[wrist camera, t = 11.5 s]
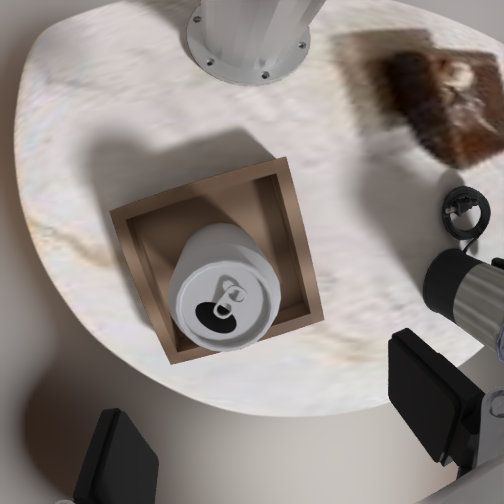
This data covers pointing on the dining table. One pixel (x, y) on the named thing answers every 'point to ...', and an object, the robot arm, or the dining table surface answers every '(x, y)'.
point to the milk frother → (468, 278)
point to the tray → (225, 211)
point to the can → (223, 289)
